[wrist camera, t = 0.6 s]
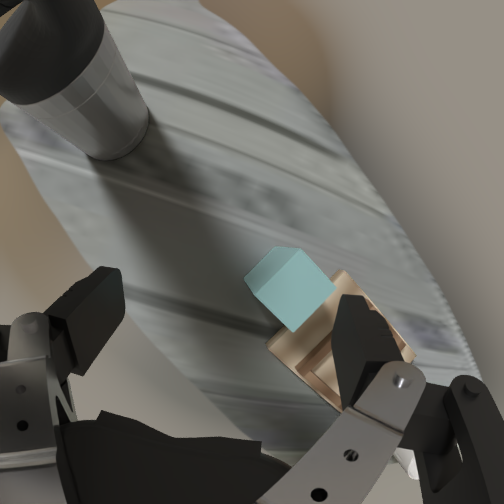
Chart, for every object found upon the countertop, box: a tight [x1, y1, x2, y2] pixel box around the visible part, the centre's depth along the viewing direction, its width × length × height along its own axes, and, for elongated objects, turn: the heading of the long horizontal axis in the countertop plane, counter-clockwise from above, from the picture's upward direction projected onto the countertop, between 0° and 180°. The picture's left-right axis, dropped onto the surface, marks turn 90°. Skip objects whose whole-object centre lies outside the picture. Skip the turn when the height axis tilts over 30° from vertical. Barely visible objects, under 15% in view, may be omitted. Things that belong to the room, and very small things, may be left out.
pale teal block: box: [243, 246, 337, 332], centre depth 30 cm, size 4×5×11 cm
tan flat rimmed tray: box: [266, 270, 417, 413], centre depth 35 cm, size 16×12×4 cm
